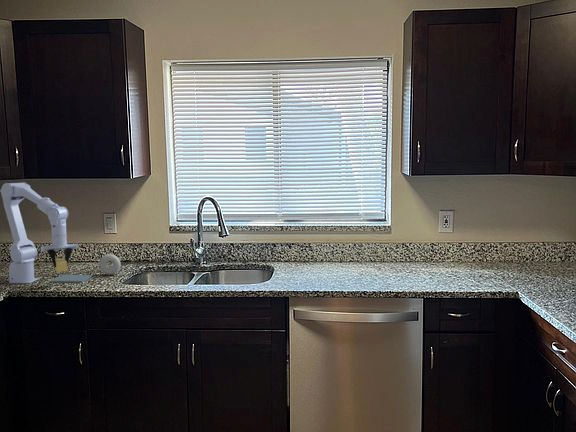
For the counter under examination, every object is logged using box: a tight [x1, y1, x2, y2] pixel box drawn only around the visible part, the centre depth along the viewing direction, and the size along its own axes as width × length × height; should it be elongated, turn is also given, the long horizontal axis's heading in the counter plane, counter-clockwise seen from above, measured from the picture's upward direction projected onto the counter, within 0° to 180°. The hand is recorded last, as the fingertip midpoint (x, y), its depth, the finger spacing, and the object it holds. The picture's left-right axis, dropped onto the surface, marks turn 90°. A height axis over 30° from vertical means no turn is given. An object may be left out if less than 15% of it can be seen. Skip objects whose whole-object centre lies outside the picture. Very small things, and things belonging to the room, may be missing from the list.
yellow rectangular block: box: [53, 258, 68, 273], centre depth 220 cm, size 8×4×4 cm, turn 33°
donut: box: [98, 253, 122, 276], centre depth 242 cm, size 10×4×10 cm, turn 92°
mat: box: [50, 274, 93, 284], centre depth 232 cm, size 14×12×1 cm
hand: (60, 266), depth 220 cm, fingers closed on yellow rectangular block, 4 cm apart
